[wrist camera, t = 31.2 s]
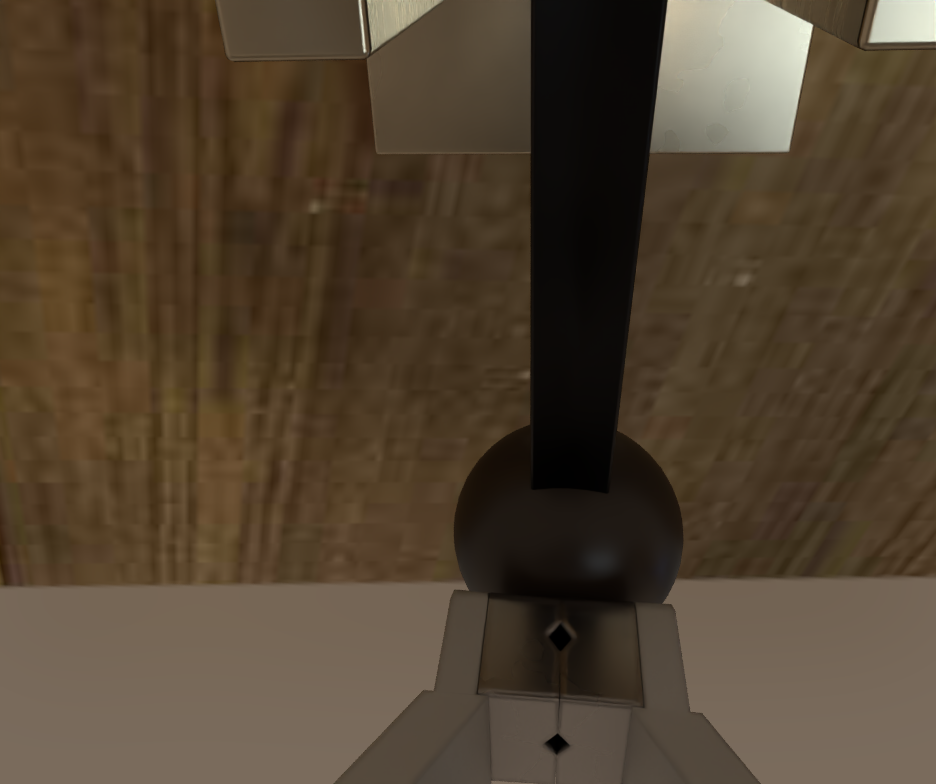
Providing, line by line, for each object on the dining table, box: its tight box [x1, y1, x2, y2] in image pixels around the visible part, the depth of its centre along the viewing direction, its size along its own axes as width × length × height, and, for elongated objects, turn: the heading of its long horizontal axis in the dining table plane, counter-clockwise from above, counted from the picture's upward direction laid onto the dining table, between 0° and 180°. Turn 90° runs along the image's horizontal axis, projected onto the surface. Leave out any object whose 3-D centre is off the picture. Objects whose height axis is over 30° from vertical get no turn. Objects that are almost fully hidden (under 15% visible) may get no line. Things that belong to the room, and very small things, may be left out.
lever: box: [454, 0, 683, 604], centre depth 9 cm, size 13×4×4 cm, turn 2°
